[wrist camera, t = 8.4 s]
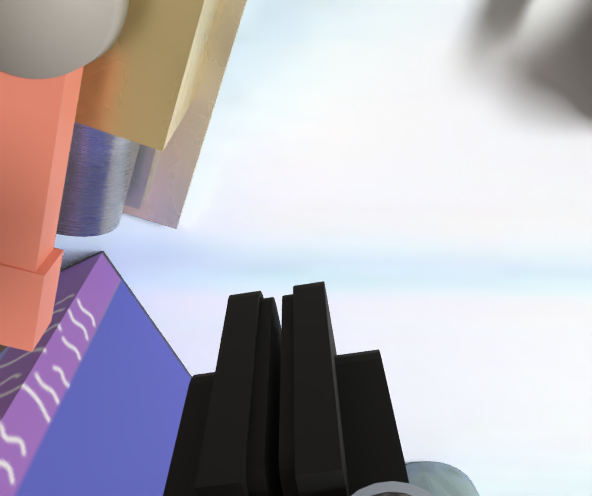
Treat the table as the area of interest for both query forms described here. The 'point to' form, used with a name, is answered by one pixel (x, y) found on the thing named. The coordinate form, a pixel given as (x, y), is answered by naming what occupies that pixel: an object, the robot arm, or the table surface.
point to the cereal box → (91, 395)
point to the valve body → (146, 114)
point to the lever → (40, 144)
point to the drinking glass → (440, 479)
